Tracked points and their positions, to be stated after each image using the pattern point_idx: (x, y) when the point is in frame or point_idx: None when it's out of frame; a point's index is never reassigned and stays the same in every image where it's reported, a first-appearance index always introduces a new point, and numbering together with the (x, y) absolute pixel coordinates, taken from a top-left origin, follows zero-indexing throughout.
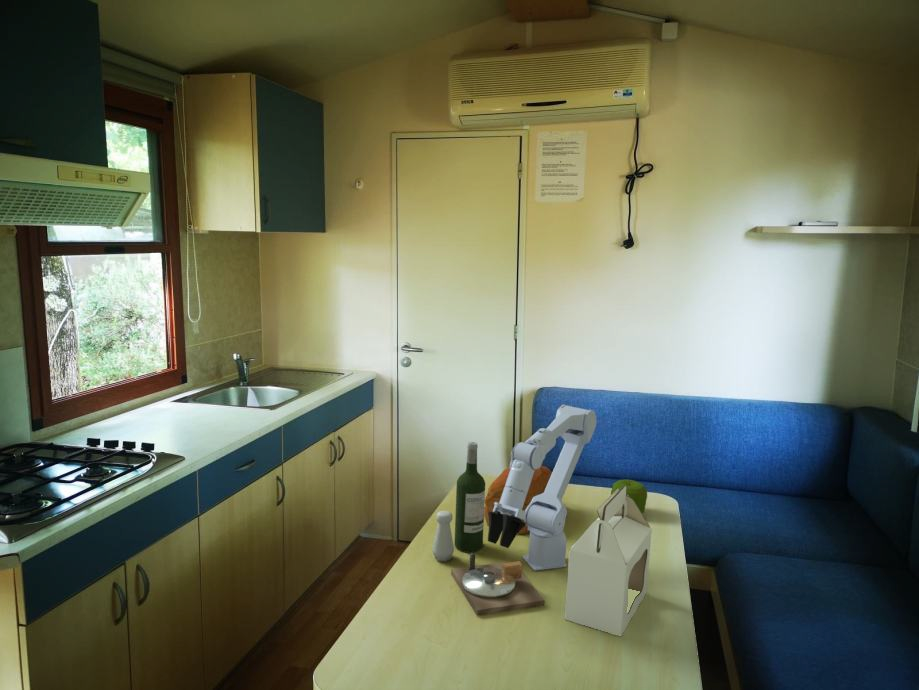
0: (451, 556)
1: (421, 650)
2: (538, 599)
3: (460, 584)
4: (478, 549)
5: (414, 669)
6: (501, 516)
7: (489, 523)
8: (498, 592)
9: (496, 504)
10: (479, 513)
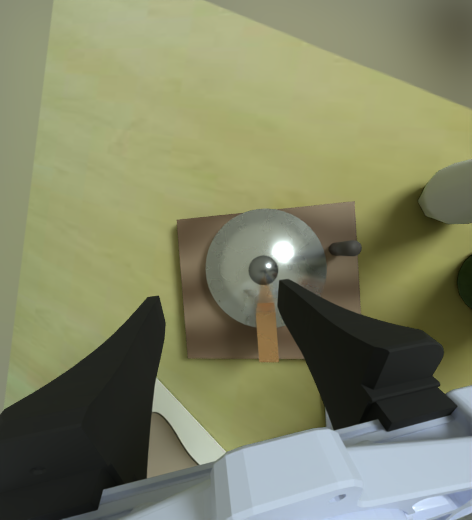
0: (430, 217)
1: (106, 110)
2: (192, 347)
3: (281, 209)
4: (464, 300)
5: (66, 95)
6: (353, 410)
7: (342, 310)
8: (211, 274)
9: (233, 463)
10: None
